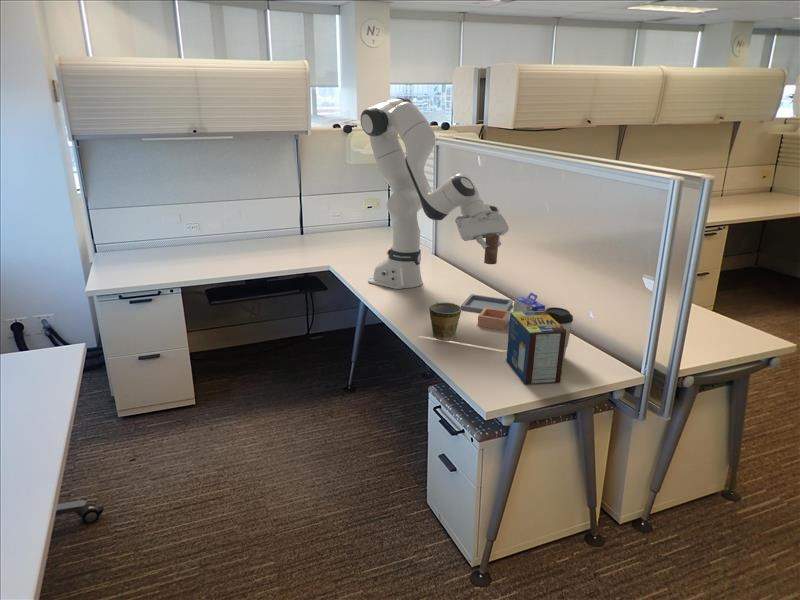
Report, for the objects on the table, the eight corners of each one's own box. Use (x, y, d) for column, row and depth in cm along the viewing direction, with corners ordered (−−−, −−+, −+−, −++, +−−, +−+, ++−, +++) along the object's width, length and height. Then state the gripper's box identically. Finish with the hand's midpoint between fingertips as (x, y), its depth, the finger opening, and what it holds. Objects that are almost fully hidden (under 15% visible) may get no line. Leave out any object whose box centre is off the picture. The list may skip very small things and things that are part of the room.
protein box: (538, 358, 169) (544, 309, 164) (560, 383, 155) (567, 330, 149) (505, 360, 167) (509, 311, 162) (524, 385, 153) (529, 332, 148)
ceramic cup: (464, 341, 180) (466, 311, 176) (434, 344, 177) (435, 314, 173) (449, 326, 191) (450, 298, 188) (421, 329, 189) (422, 300, 185)
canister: (482, 263, 202) (484, 235, 198) (485, 260, 205) (487, 233, 202) (495, 264, 200) (497, 237, 197) (497, 261, 204) (500, 234, 200)
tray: (460, 310, 205) (460, 305, 204) (470, 299, 217) (471, 294, 217) (504, 317, 200) (504, 312, 199) (512, 305, 212) (512, 300, 211)
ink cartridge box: (542, 341, 181) (547, 298, 176) (527, 344, 179) (532, 300, 174) (524, 330, 189) (528, 288, 184) (510, 332, 187) (513, 290, 182)
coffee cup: (545, 348, 176) (550, 302, 171) (572, 356, 171) (579, 309, 166) (531, 357, 169) (536, 310, 164) (560, 366, 164) (566, 318, 159)
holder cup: (477, 327, 191) (478, 316, 190) (483, 318, 199) (484, 307, 197) (503, 331, 188) (504, 320, 186) (509, 322, 196) (510, 311, 194)
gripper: (458, 212, 197) (474, 245, 192) (501, 206, 207) (518, 238, 203) (449, 222, 201) (465, 255, 197) (492, 216, 212) (508, 248, 208)
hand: (492, 246), depth 200 cm, fingers closed on canister, 4 cm apart
